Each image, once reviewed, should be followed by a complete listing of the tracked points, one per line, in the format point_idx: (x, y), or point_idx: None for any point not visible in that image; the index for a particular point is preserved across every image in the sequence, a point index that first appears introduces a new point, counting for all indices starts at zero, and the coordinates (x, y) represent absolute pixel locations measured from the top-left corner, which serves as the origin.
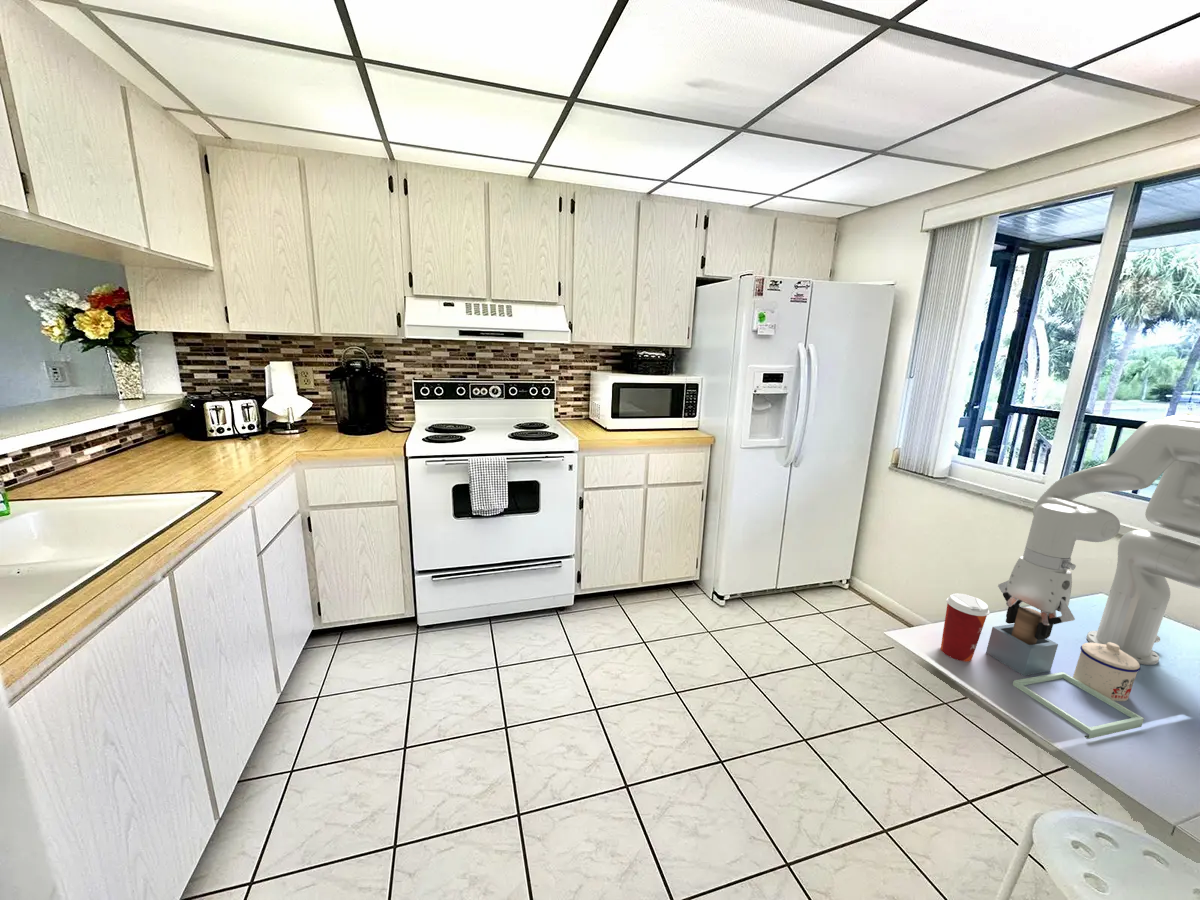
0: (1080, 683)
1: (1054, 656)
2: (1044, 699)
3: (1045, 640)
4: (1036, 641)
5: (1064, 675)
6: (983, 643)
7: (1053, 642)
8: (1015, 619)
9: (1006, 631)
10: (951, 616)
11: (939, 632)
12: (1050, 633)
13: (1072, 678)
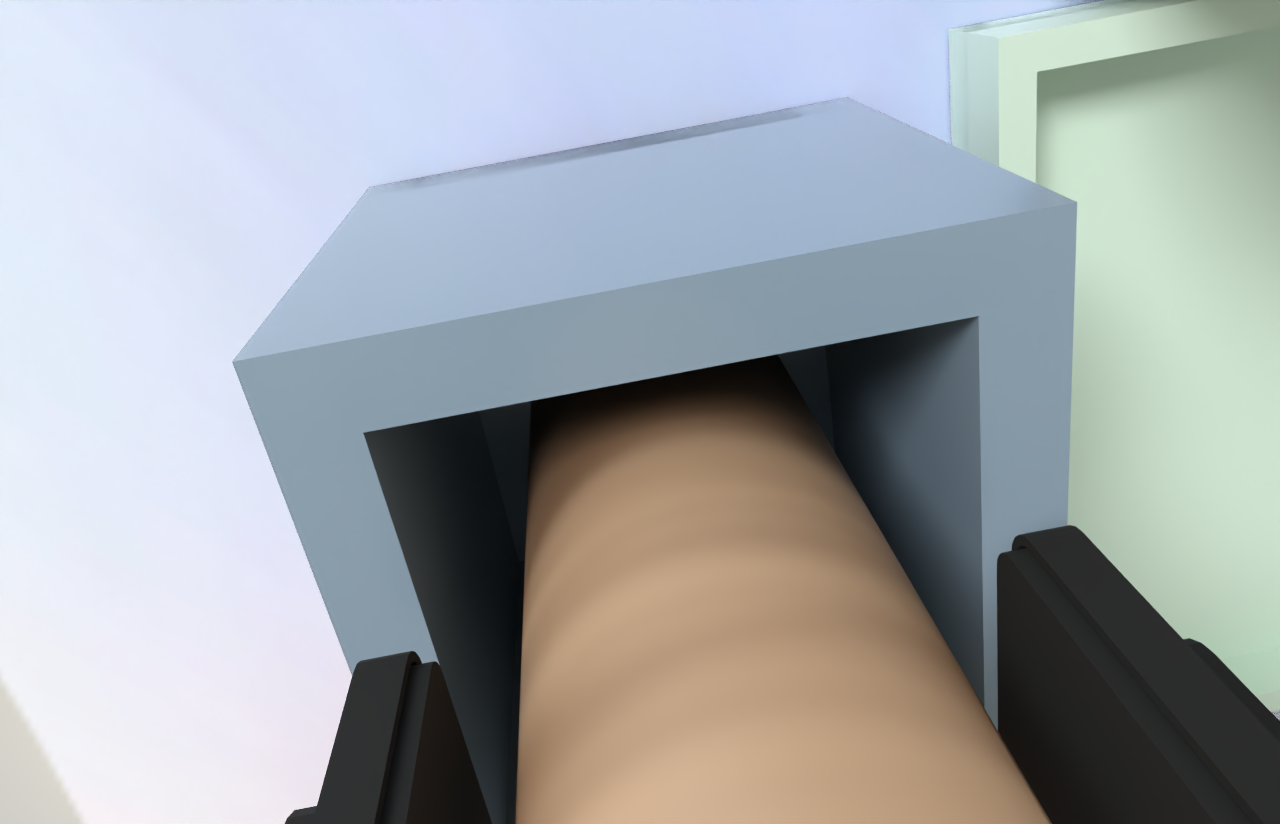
0: (1231, 32)
1: (950, 144)
2: (1264, 703)
3: (889, 328)
4: (865, 505)
5: (1037, 70)
6: (201, 406)
7: (1009, 255)
8: (456, 809)
9: (465, 671)
10: None
11: (45, 748)
12: (1247, 695)
13: (1132, 43)
